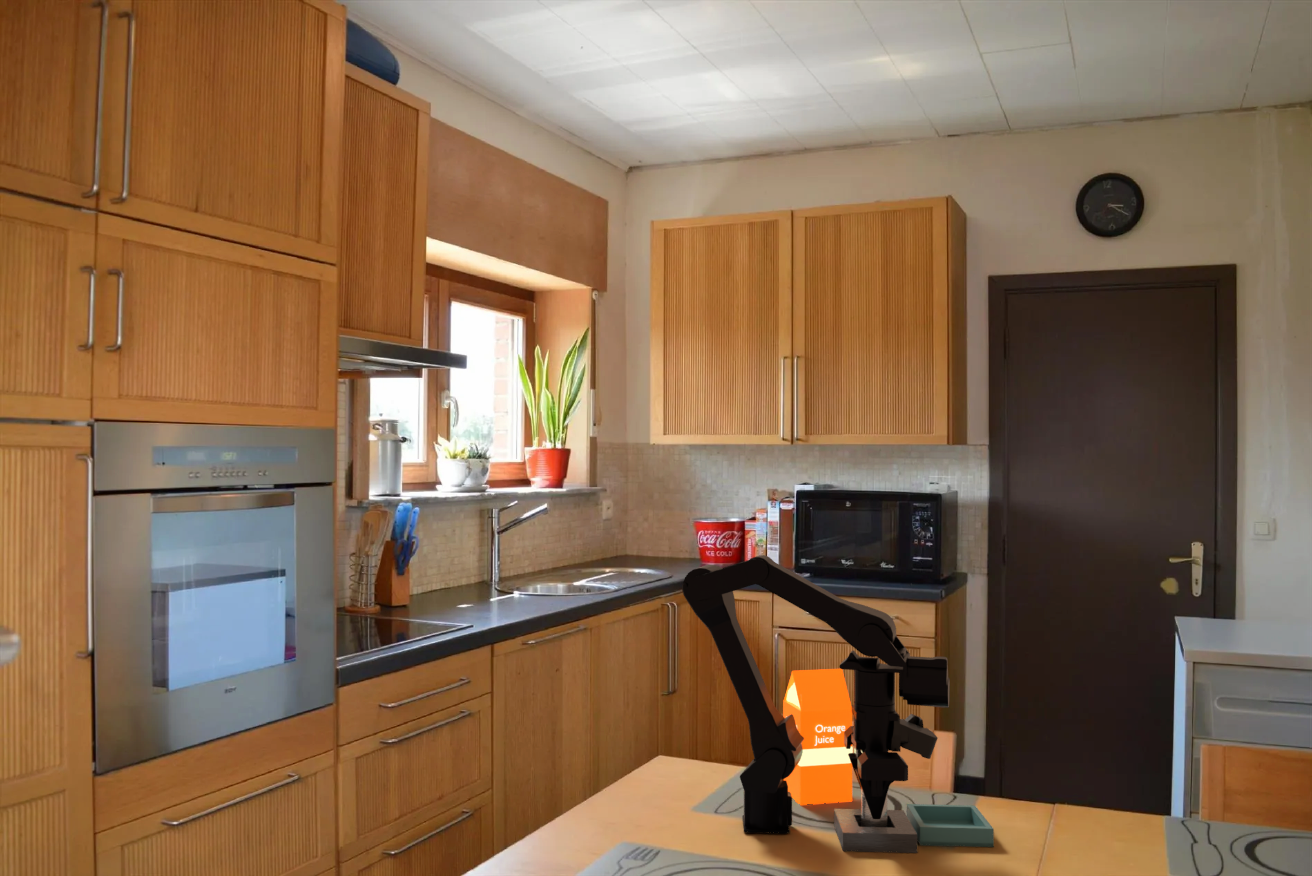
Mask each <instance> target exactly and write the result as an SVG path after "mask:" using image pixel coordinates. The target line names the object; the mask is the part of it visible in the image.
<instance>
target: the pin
mask: <svg viewBox="0 0 1312 876" xmlns="http://www.w3.org/2000/svg"><path fill="white" fill-rule="evenodd" d="M860 791H861V792H860V794H861V795H860V800H861V801H860V804H861V805H860V809H861V827H887V810H888V795H887V796H886V800H885V804H884V808H883V811H882V815H881V818H880V819H873V818H872V816H871V813H870V810H869V807H868V804H867V801H866V799H865V796H864V793H863V790H862V787H861V788H860Z"/></svg>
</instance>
